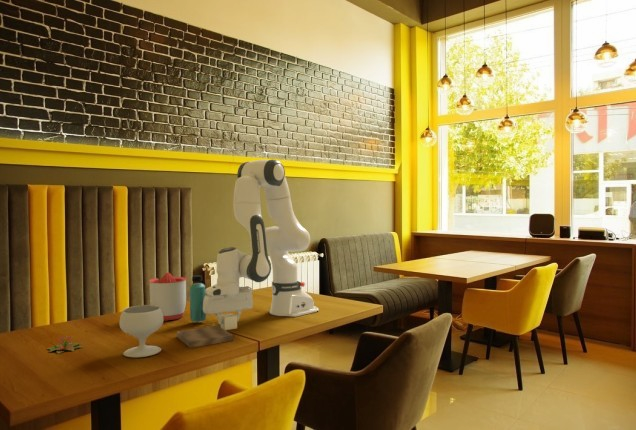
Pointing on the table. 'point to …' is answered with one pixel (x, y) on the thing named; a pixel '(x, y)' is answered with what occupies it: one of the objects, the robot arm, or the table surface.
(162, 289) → the citrus juicer
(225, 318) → the off-white cube
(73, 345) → the lily flower
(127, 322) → the chalice
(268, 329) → the table surface
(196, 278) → the beverage bottle
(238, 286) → the robot arm
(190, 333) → the walnut base
